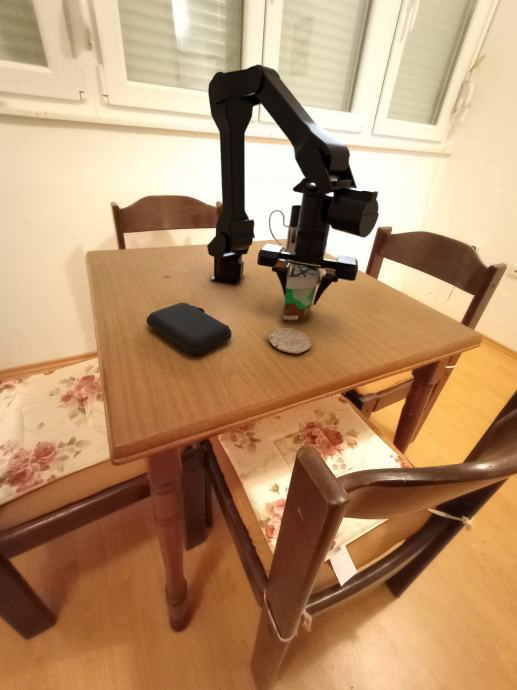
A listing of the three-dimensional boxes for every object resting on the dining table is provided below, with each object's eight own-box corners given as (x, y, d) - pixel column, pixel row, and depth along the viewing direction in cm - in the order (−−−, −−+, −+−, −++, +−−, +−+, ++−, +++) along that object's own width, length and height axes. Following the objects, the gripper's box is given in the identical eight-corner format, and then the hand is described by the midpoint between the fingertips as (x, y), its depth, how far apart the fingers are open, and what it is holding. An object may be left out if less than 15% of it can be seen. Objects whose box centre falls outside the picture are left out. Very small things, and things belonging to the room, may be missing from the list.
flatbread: (262, 334, 58) (262, 329, 58) (297, 328, 61) (298, 324, 60) (280, 359, 52) (281, 354, 52) (319, 352, 55) (320, 347, 54)
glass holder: (312, 265, 93) (322, 212, 84) (265, 261, 92) (270, 207, 84) (309, 256, 100) (318, 206, 92) (265, 252, 100) (270, 201, 91)
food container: (312, 330, 61) (321, 282, 55) (281, 325, 62) (287, 277, 56) (315, 303, 71) (323, 260, 65) (289, 300, 72) (294, 257, 66)
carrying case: (240, 339, 56) (189, 309, 64) (241, 324, 55) (189, 295, 62) (193, 363, 50) (142, 326, 57) (193, 347, 48) (140, 312, 55)
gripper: (365, 221, 61) (346, 294, 70) (272, 208, 64) (265, 280, 73) (367, 235, 52) (345, 316, 61) (260, 219, 55) (253, 299, 64)
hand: (300, 301), depth 65 cm, fingers closed on food container, 5 cm apart
